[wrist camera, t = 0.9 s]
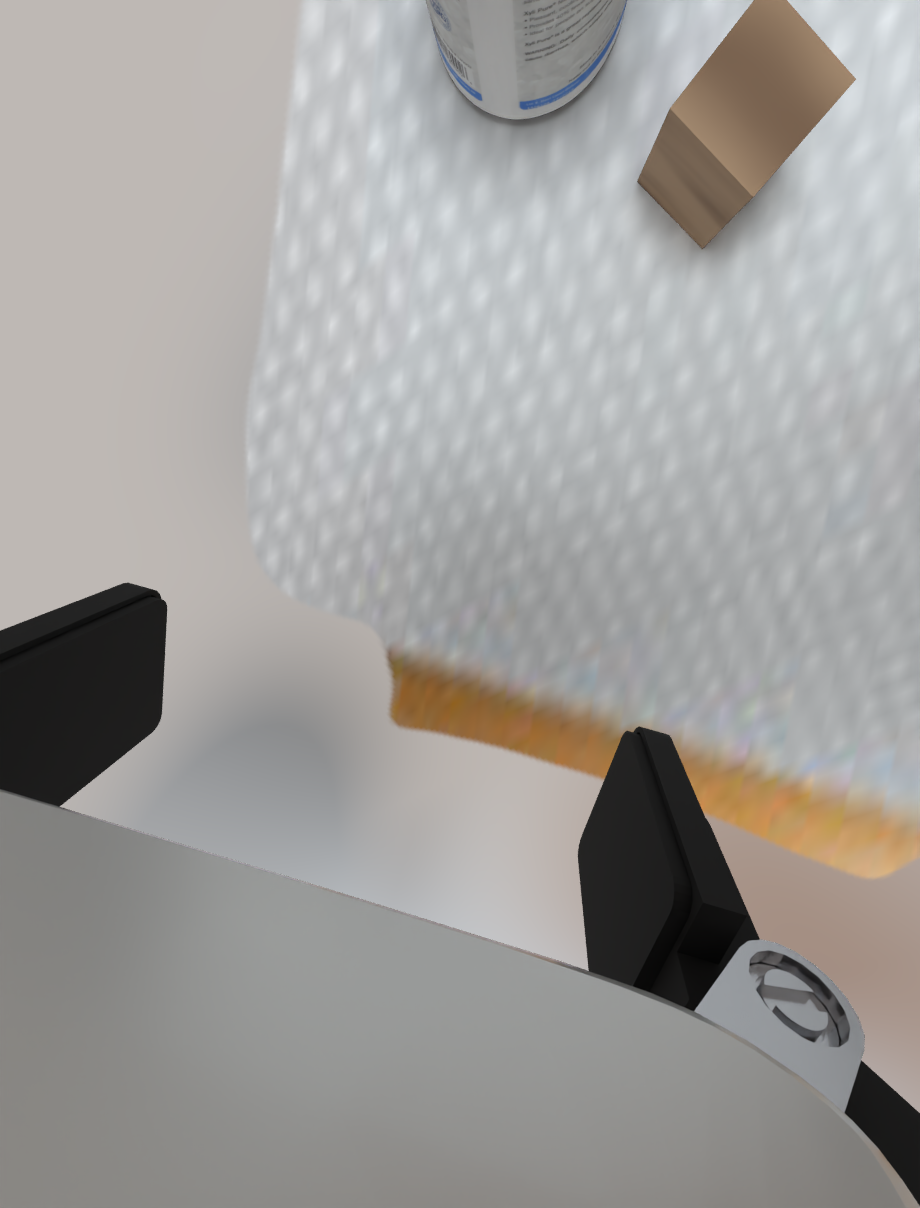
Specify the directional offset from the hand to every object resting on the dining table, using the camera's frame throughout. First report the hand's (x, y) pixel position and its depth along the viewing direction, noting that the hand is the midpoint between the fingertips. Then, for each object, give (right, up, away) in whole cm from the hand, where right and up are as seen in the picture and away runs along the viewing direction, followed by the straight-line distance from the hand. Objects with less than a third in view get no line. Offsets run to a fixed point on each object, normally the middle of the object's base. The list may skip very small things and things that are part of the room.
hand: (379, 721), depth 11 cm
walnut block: (+15, +25, +18) cm, 34 cm away
